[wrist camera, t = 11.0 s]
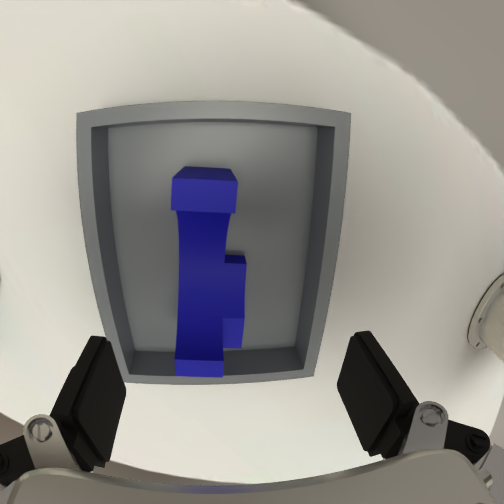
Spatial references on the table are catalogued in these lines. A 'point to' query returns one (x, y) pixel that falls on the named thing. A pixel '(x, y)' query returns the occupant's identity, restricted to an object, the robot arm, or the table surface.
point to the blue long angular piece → (207, 271)
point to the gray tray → (238, 236)
